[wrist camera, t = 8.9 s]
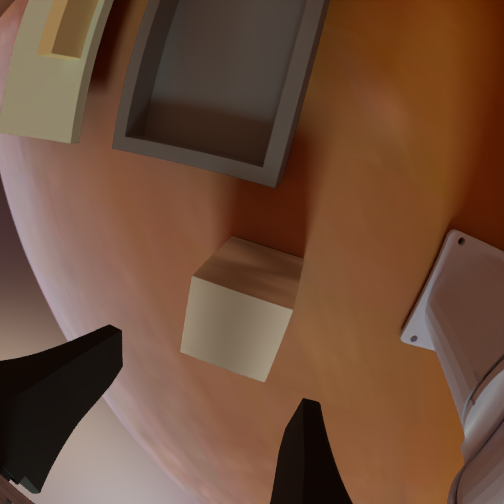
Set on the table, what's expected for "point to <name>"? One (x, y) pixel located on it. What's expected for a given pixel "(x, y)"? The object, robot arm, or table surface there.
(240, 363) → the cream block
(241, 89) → the grey storage tray
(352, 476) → the table surface
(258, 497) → the table surface
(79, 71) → the lid
